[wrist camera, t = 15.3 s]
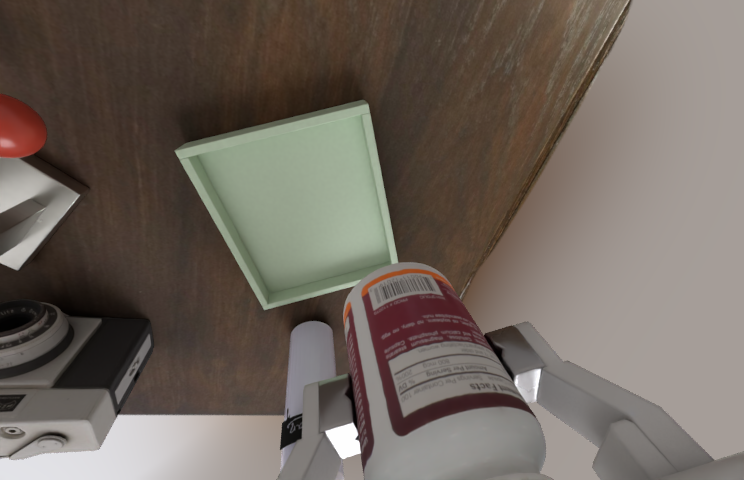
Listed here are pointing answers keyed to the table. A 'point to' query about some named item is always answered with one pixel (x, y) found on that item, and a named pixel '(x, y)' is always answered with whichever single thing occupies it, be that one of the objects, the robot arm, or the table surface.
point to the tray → (297, 201)
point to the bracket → (32, 206)
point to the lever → (19, 129)
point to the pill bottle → (432, 385)
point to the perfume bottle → (305, 378)
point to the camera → (64, 376)
